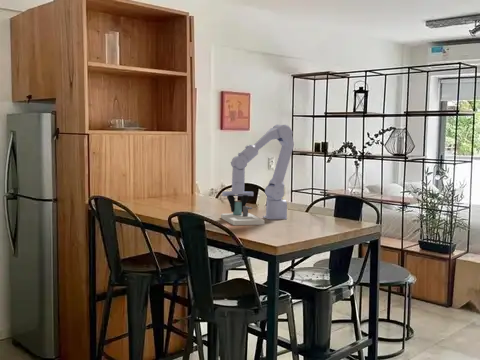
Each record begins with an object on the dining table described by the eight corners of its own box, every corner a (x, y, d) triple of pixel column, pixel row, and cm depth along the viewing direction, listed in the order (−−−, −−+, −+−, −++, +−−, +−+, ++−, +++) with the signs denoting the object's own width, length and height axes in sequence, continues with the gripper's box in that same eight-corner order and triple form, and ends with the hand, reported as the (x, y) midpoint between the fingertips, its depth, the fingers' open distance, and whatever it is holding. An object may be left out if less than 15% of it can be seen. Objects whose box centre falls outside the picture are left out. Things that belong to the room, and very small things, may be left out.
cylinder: (240, 213, 253) (240, 200, 253) (242, 214, 249) (243, 201, 249) (231, 213, 252) (232, 200, 251) (234, 215, 248) (234, 201, 248)
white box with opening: (249, 217, 256) (249, 203, 255) (264, 224, 237) (264, 209, 236) (220, 217, 252) (221, 204, 251) (233, 225, 233) (234, 210, 232)
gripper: (250, 181, 255) (249, 210, 257) (220, 181, 251) (219, 210, 252) (255, 183, 249) (254, 212, 250) (225, 183, 244) (224, 212, 245)
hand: (237, 211), depth 251 cm, fingers closed on cylinder, 4 cm apart
